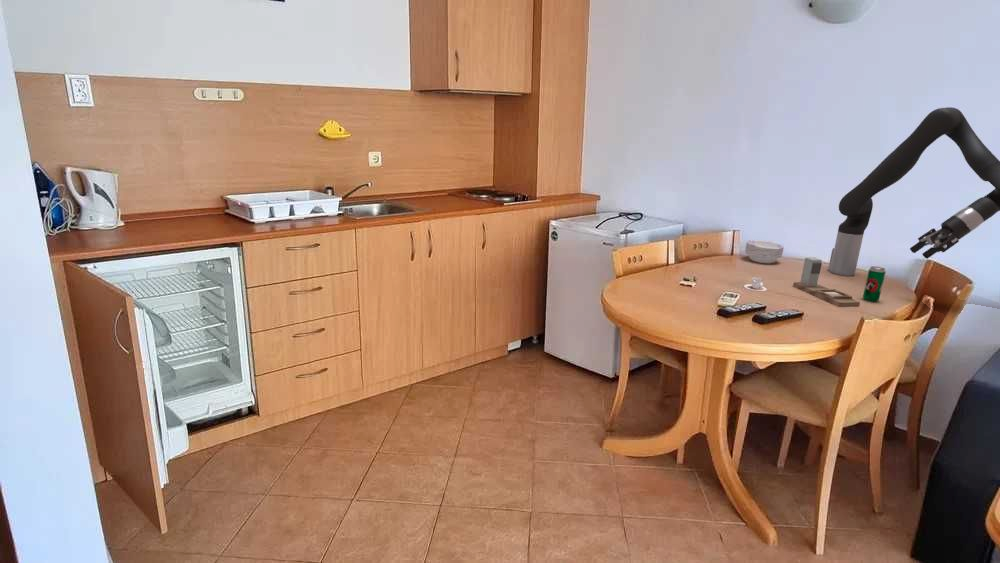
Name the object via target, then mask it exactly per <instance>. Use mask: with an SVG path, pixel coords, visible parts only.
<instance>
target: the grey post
mask: <svg viewBox="0 0 1000 563" xmlns="http://www.w3.org/2000/svg"><path fill="white" fill-rule="evenodd" d="M822 261H823V260H822V259H820V258H817V257H815V256H814V257H812V256H810V257H807V256H806V257H804V261H803V262H804V263H803V267H802V272H801V276H800V277H801V278H800V281H799V282H800V283H801V284H804V285H806V286H817V284H818V282H819V277H820V273H821V269H822V265H823V263H822Z"/></svg>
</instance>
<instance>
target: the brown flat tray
mask: <svg viewBox="0 0 1000 563" xmlns="http://www.w3.org/2000/svg"><path fill="white" fill-rule="evenodd" d="M800 282H801V281H797V282H796V281H794V282H793V285H792V286H793V287H794V288H797V289H798V290H801V291H803V292H806V293H807V294H809V295H812V296H814V297H816V298H819V299H821V300H823V301H826V302H828V303H829V304H831V305H834V306H837V307H839V308H846V307H847V308H848V307H849V308H850V307H860V305H861V302H860V301H859V300H856V299H853V296H852V295H850V294H848V293H845V292H842V291H840V290H837V289H835V288H833V289H832V288H831V289H830V288H828V287H825V286H822V285H820V284H818V283H817V286H806V285H804V284H801V283H800Z"/></svg>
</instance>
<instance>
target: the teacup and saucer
mask: <svg viewBox="0 0 1000 563" xmlns="http://www.w3.org/2000/svg"><path fill="white" fill-rule="evenodd" d="M750 286H751V287H752V288H749V287H750ZM743 288H744V289H747V290H750V291H754V292H765V291H767V289H768V288H766V287H765V286H764V282H762V278H761V277H752V279H751V284H749V283H748V284H744V285H743ZM759 288H761V289H759Z"/></svg>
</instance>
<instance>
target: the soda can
mask: <svg viewBox="0 0 1000 563" xmlns="http://www.w3.org/2000/svg"><path fill="white" fill-rule="evenodd" d="M885 276H886V270H885V267H881V266H877V265H876V266H875V265H874V266H873V265H872V266H870V267H869V269H868V273H867V277H866V280H865V286H864V290H863V294H862V298H863V300H864V301H866V300H867V301H866V302H870V301H871V302H872V303H876V302H879V300H880V297H881V293H882V289H883V284H884V280H885ZM871 302H870V303H871Z"/></svg>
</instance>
